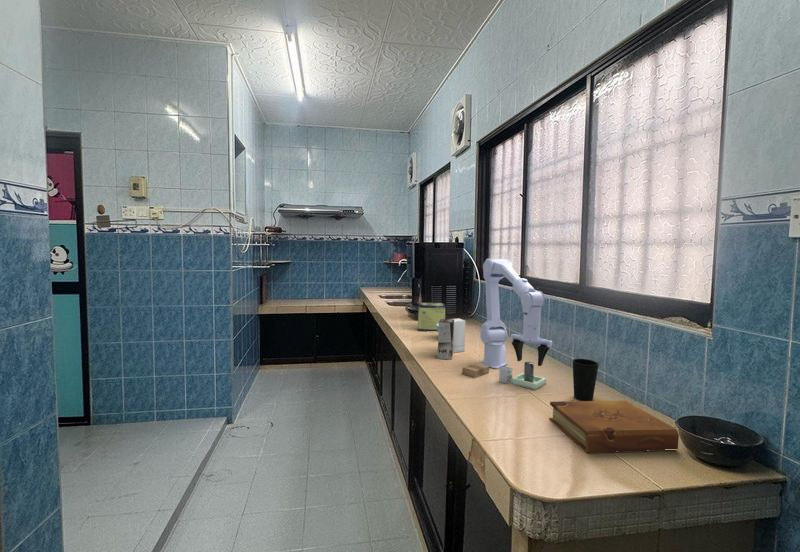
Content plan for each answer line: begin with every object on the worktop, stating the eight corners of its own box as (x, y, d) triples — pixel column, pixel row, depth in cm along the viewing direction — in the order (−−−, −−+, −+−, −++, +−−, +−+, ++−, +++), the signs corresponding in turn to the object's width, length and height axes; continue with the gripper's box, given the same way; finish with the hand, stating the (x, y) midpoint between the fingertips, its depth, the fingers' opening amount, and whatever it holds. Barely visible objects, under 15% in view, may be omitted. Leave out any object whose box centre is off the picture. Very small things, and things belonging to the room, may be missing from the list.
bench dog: (504, 379, 143) (504, 366, 143) (511, 381, 141) (512, 367, 141) (499, 381, 140) (499, 368, 140) (506, 383, 138) (507, 370, 138)
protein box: (445, 332, 224) (445, 305, 223) (418, 331, 224) (418, 304, 223) (443, 328, 234) (444, 303, 233) (417, 327, 234) (418, 302, 233)
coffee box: (452, 360, 167) (453, 322, 166) (437, 358, 168) (438, 321, 167) (453, 354, 176) (454, 319, 175) (439, 353, 177) (440, 318, 176)
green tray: (522, 377, 145) (522, 372, 145) (546, 383, 139) (546, 378, 139) (511, 383, 139) (511, 378, 138) (535, 390, 133) (536, 384, 132)
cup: (585, 404, 121) (588, 366, 121) (565, 395, 128) (567, 360, 127) (601, 400, 125) (603, 363, 124) (580, 392, 132) (583, 357, 131)
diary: (587, 456, 91) (588, 432, 91) (549, 421, 110) (549, 401, 109) (677, 453, 93) (679, 429, 93) (625, 419, 112) (626, 399, 112)
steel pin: (526, 380, 141) (527, 361, 141) (534, 382, 139) (535, 363, 138) (522, 382, 139) (522, 362, 138) (530, 384, 136) (531, 364, 136)
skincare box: (457, 348, 187) (459, 318, 186) (465, 351, 181) (466, 320, 180) (443, 350, 183) (444, 319, 182) (450, 353, 178) (451, 321, 177)
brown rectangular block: (475, 370, 154) (476, 362, 154) (488, 374, 150) (489, 366, 150) (462, 375, 148) (462, 367, 148) (475, 379, 144) (475, 371, 144)
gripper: (507, 323, 139) (505, 360, 140) (547, 330, 130) (545, 370, 131) (516, 321, 145) (514, 357, 146) (555, 327, 135) (553, 365, 136)
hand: (529, 362), depth 138 cm, fingers open, 7 cm apart
